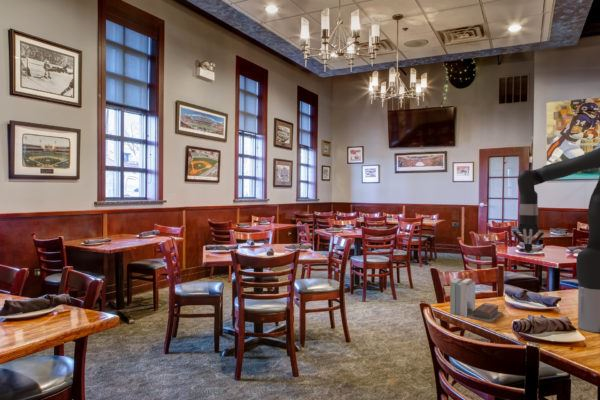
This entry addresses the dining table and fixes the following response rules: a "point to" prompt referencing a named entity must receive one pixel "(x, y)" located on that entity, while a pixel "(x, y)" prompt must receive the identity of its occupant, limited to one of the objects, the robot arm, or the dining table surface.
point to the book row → (458, 296)
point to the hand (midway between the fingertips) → (528, 252)
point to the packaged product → (486, 312)
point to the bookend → (469, 299)
